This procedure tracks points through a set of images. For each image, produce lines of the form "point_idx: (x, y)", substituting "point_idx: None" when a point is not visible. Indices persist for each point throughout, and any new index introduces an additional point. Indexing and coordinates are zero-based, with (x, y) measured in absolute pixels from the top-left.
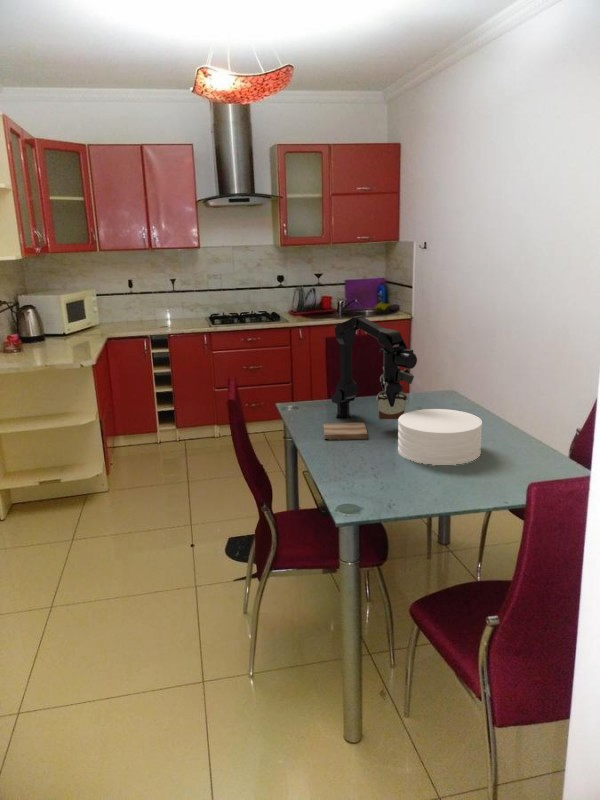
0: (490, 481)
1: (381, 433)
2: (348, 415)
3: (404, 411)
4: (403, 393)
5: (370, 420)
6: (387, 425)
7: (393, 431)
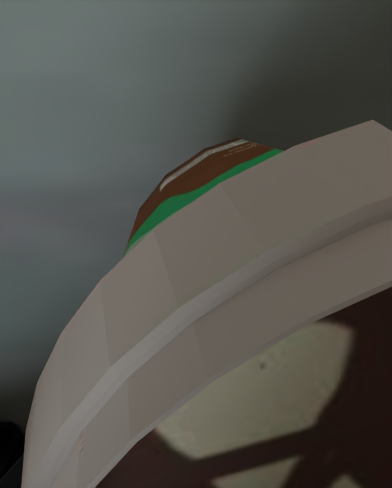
0: None
1: None
2: (3, 440)
3: (270, 149)
4: (166, 401)
5: (29, 339)
6: (110, 239)
7: None
